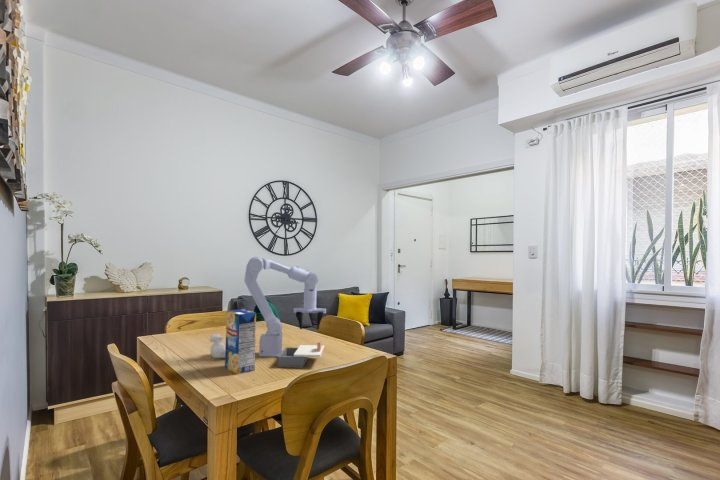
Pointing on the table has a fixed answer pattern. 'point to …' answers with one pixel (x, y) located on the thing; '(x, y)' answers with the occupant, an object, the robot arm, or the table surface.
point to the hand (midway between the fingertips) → (309, 328)
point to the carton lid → (310, 350)
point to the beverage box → (240, 341)
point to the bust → (217, 346)
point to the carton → (290, 358)
